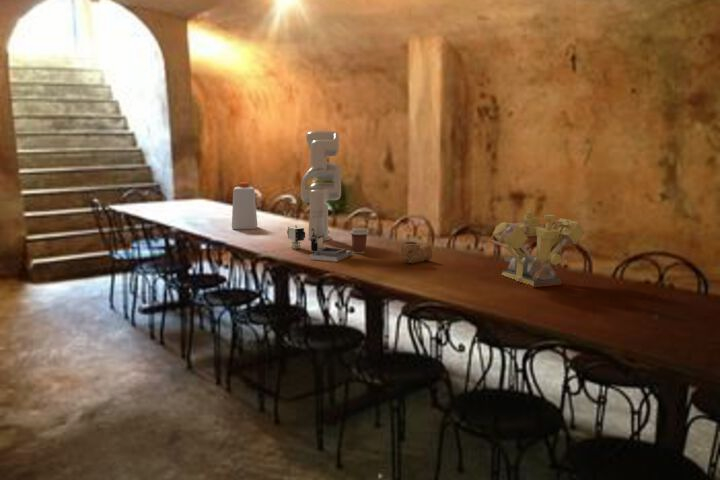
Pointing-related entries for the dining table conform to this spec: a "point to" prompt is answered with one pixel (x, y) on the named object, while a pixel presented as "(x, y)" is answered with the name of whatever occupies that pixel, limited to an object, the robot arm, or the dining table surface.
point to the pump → (319, 243)
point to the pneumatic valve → (296, 235)
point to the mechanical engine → (547, 246)
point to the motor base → (330, 254)
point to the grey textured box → (415, 251)
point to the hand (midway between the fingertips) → (317, 249)
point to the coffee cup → (359, 239)
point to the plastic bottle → (244, 208)
